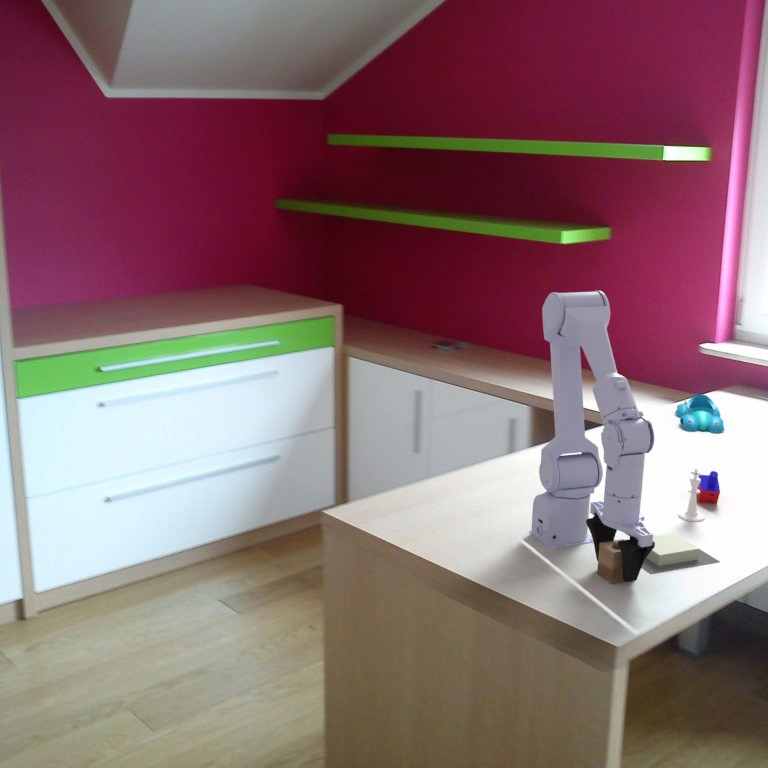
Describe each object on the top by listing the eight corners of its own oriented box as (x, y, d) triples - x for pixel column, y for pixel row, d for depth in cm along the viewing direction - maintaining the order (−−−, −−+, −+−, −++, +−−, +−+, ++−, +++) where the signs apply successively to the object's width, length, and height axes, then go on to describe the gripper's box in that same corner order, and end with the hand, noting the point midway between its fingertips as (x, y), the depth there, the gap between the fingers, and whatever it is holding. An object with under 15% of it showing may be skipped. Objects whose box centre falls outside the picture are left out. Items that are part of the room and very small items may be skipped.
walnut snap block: (610, 587, 158) (613, 549, 156) (596, 576, 161) (599, 539, 160) (634, 583, 159) (637, 546, 158) (620, 572, 163) (623, 536, 161)
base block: (658, 566, 164) (659, 555, 164) (633, 549, 171) (634, 538, 170) (698, 559, 167) (699, 548, 167) (672, 543, 173) (673, 532, 173)
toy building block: (696, 508, 195) (703, 480, 190) (694, 492, 198) (701, 464, 193) (715, 509, 195) (722, 482, 189) (712, 493, 198) (720, 465, 192)
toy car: (717, 414, 254) (720, 389, 252) (726, 435, 237) (729, 408, 235) (674, 411, 256) (676, 386, 254) (680, 432, 239) (682, 405, 237)
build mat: (650, 576, 162) (650, 573, 161) (612, 549, 172) (612, 547, 171) (720, 564, 166) (720, 561, 166) (679, 539, 176) (679, 536, 176)
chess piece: (683, 512, 189) (689, 462, 186) (709, 518, 186) (714, 468, 183) (673, 519, 185) (678, 469, 183) (698, 526, 182) (704, 475, 180)
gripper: (672, 505, 151) (664, 585, 155) (618, 473, 164) (612, 549, 168) (633, 510, 149) (626, 592, 152) (581, 478, 162) (576, 554, 165)
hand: (616, 570), depth 160 cm, fingers open, 7 cm apart
